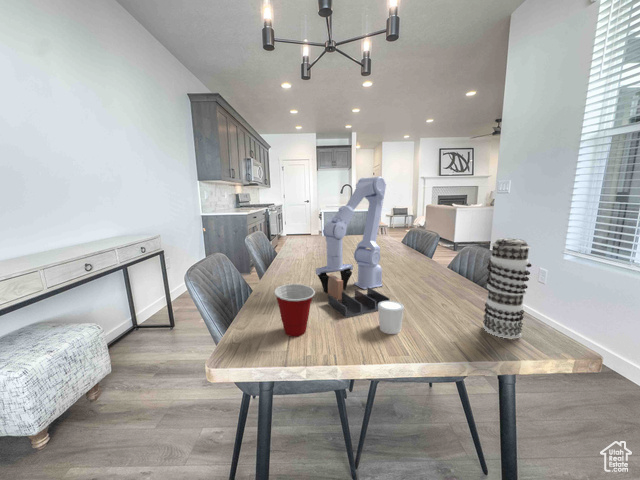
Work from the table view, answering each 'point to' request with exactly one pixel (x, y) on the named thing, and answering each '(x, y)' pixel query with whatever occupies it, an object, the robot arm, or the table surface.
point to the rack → (357, 303)
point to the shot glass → (390, 316)
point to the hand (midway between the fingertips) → (334, 290)
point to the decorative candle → (506, 287)
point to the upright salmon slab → (335, 286)
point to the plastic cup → (294, 307)
